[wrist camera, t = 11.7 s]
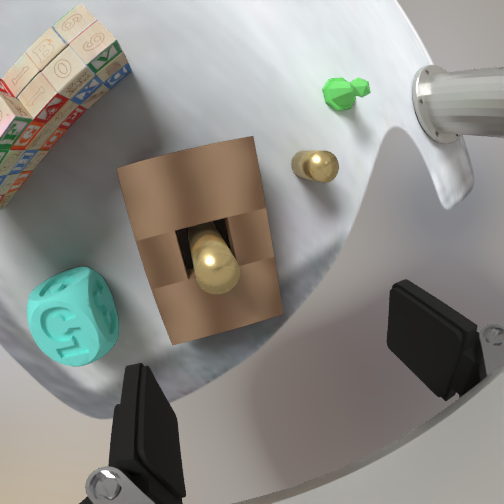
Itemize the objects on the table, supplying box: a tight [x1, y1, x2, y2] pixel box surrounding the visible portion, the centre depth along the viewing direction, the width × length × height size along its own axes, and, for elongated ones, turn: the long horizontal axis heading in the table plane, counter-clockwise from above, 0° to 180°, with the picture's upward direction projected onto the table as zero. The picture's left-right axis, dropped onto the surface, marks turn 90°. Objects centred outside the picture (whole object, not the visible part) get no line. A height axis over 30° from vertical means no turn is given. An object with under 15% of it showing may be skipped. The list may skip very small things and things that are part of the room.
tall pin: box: [187, 221, 240, 294], centre depth 27 cm, size 3×3×12 cm
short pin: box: [291, 151, 339, 182], centre depth 31 cm, size 3×3×5 cm
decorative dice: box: [27, 267, 119, 366], centre depth 27 cm, size 8×8×8 cm
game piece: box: [322, 78, 370, 110], centre depth 28 cm, size 4×4×6 cm
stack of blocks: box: [0, 3, 132, 210], centre depth 18 cm, size 21×6×12 cm, turn 129°
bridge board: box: [117, 136, 283, 345], centre depth 30 cm, size 12×18×6 cm, turn 11°
